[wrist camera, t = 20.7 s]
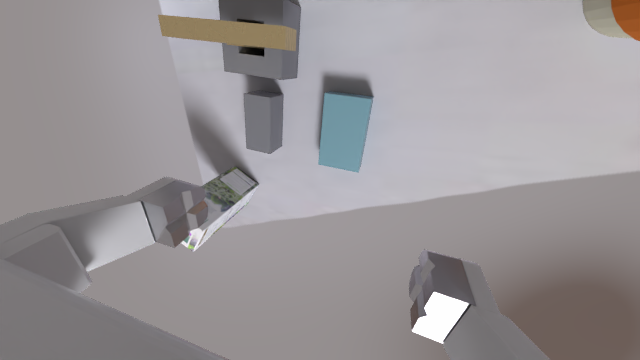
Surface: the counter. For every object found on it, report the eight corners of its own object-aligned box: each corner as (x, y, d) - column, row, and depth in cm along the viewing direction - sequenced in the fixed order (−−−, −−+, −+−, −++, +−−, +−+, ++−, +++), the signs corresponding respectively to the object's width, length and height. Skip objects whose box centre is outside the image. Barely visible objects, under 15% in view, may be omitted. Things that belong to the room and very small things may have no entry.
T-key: (320, 37, 29) (285, 24, 20) (319, 55, 30) (284, 50, 21) (225, 28, 32) (157, 13, 23) (227, 44, 33) (162, 36, 24)
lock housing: (243, 3, 30) (217, -8, 25) (300, 7, 28) (282, -4, 24) (249, 138, 38) (230, 148, 34) (293, 148, 37) (279, 159, 32)
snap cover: (330, 91, 32) (324, 93, 29) (373, 96, 30) (371, 99, 28) (323, 157, 36) (318, 164, 34) (361, 164, 35) (358, 172, 32)
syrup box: (225, 185, 45) (159, 230, 32) (235, 164, 42) (167, 205, 29) (248, 202, 45) (191, 254, 33) (260, 183, 42) (202, 232, 30)
